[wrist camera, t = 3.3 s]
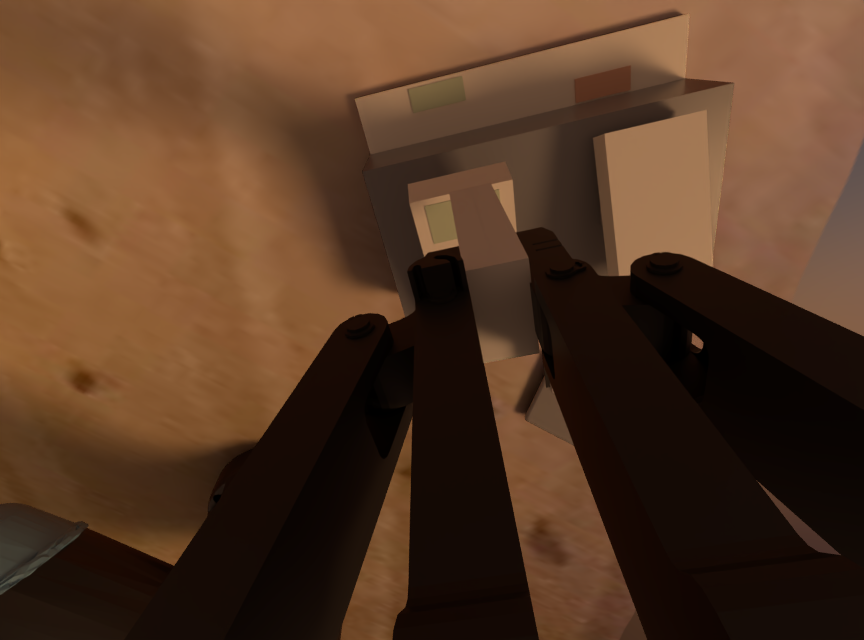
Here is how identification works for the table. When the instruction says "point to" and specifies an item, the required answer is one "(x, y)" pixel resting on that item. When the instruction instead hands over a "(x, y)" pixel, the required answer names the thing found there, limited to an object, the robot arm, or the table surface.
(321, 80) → the table surface
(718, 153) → the console
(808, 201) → the table surface
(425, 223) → the rocker sage
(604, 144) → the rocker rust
